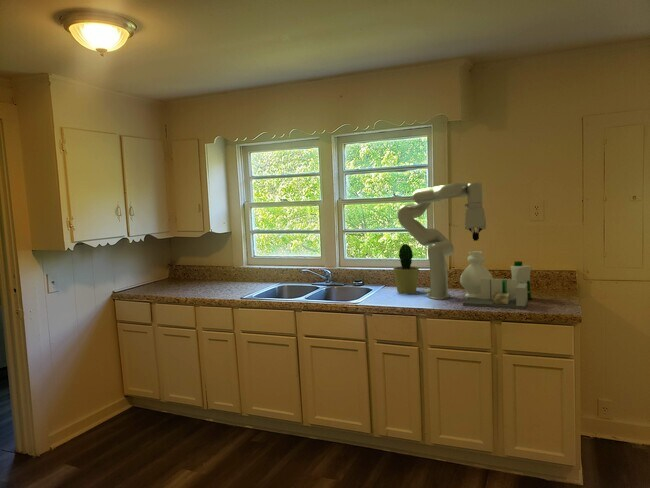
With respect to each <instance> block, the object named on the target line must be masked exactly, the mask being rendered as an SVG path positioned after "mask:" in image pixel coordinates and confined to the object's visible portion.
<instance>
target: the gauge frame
mask: <svg viewBox="0 0 650 488" xmlns="http://www.w3.org/2000/svg"><path fill="white" fill-rule="evenodd" d="M503 282H504V285H505V293H508V294H509V300H510V301H509V303H508V304H496V303H493V293H494V292H495V291H496V292H497V293H503ZM462 304H463V305H462V306H465V307H466V306H467V307H481V308H482V307H483V308H497V309H498V308H501V309H515V308H518V309H519V310H526V308H527V306H526V305H528V300H527V283H519V284H518V285H517V279H512V278H493V279H488V278H481V298H470V297H467V298H466V299H465V300H464V301H463V303H462Z"/></svg>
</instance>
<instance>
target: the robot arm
mask: <svg viewBox="0 0 650 488" xmlns="http://www.w3.org/2000/svg"><path fill="white" fill-rule="evenodd" d="M411 197H412V201H414V203H408V204H403V205H401V206H400V207H399V209H398V210H397V219H398V222H399V224H400V225H401V227H402V228H403V229H405V231H407V232H408V234H410V235H411V236H412V238H414V239H415V240H416V241H417V242H418V244H420V245H422V247H424V246H425V247H427V246H428V249H427V254H428V255H427V256H428V260H429V277H430V278H429V279H430V288H429V289H423V293H424V294H428V295H427V296H428V299H431V300H432V299H433V300H446V299H451V298H452V297H451V296H452V295H451V294H450V293H449V291H448V290H449V285H448V284H449V283H448V282H449V281H448V264H447V260H446V258H448V257H450V256H452V255H453V253H454V251H455V247H454V245H453V243H452V241H450V240H449V239H448V238H447V237H446V236H445V235H444V234H443V233H442V232H441V231H440V230H438V229H436V228H427V227H425V226H424V225H423V224H422V223H421V222H419V220H416V219H417V218H420V217H421V216H422V215H423V214H424V213H425V212H426V211H427V209H428V208H429V207H430V206H431V204H432V203H435V202H441V201H442V200H446V199H454V198H465V197H467V203H465V204H464V207H465V208H466V209H465V214H464V215H465V216H464V226H465V227H464V229H465V230H466V231H467V230H468V231H470V232H471V233H472V240H473V242H475V241H476V242H478V241H479V239H480V232H481V231H483V230H486V229H487V226H486V222H487V221H486V212H485V207H484V208H483V184H482V183H481V182H478V181H477V182H475V181H474V182H469V183H468V182H455V183H448V184H442V185H435V186H429V187H423V188H422V187H421V188H418V189H416V190H414V191H413V192H412V196H411ZM475 228H476V230H475Z"/></svg>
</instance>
